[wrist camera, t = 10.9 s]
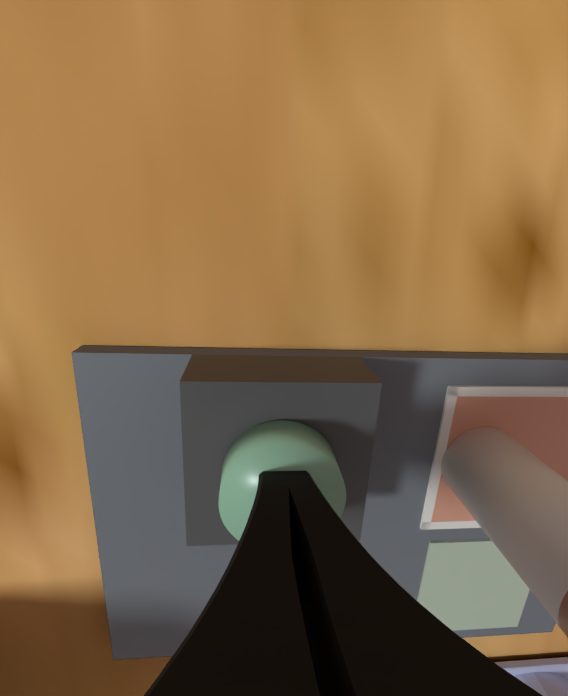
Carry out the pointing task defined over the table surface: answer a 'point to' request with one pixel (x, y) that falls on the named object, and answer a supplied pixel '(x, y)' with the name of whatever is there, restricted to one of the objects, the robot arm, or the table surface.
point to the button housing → (272, 405)
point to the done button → (275, 467)
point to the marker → (516, 509)
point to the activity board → (382, 493)
